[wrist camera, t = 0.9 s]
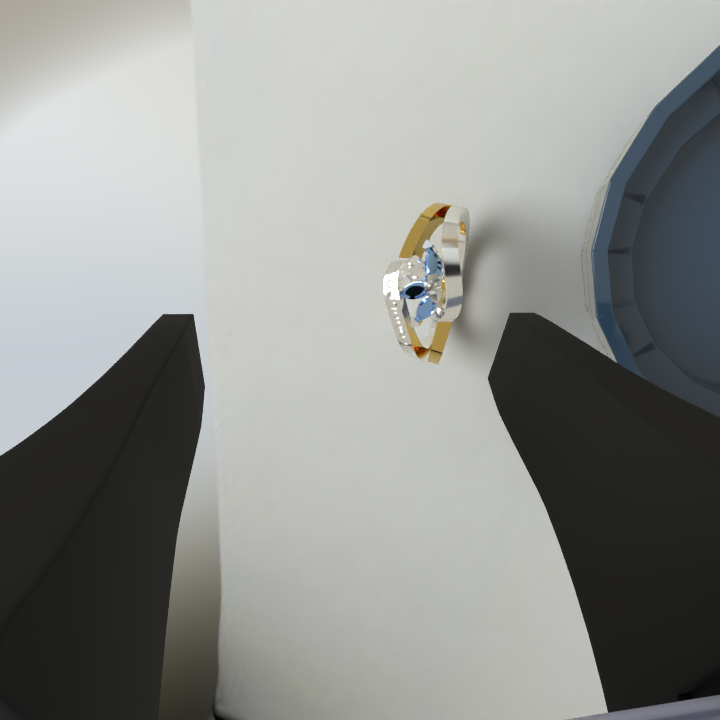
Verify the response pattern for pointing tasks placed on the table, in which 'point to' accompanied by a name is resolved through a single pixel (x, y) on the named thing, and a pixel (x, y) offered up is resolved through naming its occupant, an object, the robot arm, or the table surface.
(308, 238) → the table surface
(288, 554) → the table surface
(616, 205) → the bowl
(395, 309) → the ring
